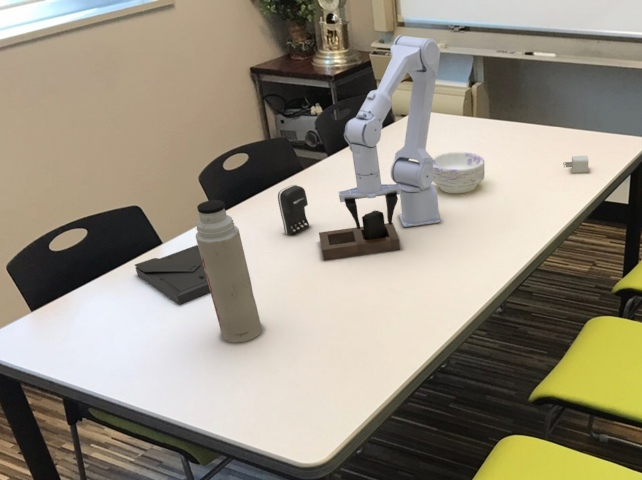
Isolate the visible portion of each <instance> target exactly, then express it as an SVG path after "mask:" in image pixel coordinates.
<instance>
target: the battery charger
mask: <svg viewBox="0 0 642 480" xmlns="http://www.w3.org/2000/svg"><path fill="white" fill-rule="evenodd" d="M277 201H278V206H279V211H280V216H281V220H282V224H283V230H284V233H285V234H286V235H292V236H293V235H294V236H295V235H298V234H300V233H302V232H304V231H305V230H307V229H308V228H309V227H310V223H309V221H308V219H307V216H306V210H305V208H306V207H307V206H308V198H307V193H306V190H305V189H304V188H303V186H300V185H297V184H291V185H289V186H286V187H285V188H282V189H280V190H279V192H278V194H277Z"/></svg>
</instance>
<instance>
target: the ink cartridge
mask: <svg viewBox="0 0 642 480" xmlns="http://www.w3.org/2000/svg"><path fill="white" fill-rule="evenodd" d="M361 221H362V227H363V229H364V236H365V240H371V239H379V238H386V232H385V223H386V222H385V215H384V212H382V211H380V210H373V211H370V212H368V213H365V214H364V215H363V216H361Z"/></svg>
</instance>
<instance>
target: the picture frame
mask: <svg viewBox="0 0 642 480" xmlns="http://www.w3.org/2000/svg"><path fill="white" fill-rule="evenodd" d="M134 266H135V272H136V275H137V277H139V278H141V279H142V280H143V281H145V282H146V283H148V284H149V285H151V286H152V287H154V288H155V289H157V290H158V291H159V292H161V293H162V294H163V295H165V296H166V297H168V298H169V299H171V300H172V301H173V302H175V303H176V304H178V305H183V304H185V303H189V302H190V301H193V300H195V299H197V298H200V297H203V296H205V295H207V294H209V293H210V294H211V292H210V289H209V285H208V281H207V277H206V274H205V270H204V266H203V263H202V259H201V255H200V251H199V248H198V244H196V245H193V246H190V247H188V248H185V249H182V250H179V251H177V252H174V253H171V254H169V255H165V256H162V257H161V258H159V257H154V258H151V259H147V260H144V261H141V262H138V263H135V264H134Z"/></svg>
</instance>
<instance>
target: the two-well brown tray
mask: <svg viewBox="0 0 642 480" xmlns="http://www.w3.org/2000/svg"><path fill="white" fill-rule="evenodd" d="M384 223H385V232H386V238H379V239H371V240H365V236H364V229H363V226H360V229H357V226H356V227H348V228H343V229H335V230H327V231H320V232H318V236H319V242H320V246H321V247H320V248H321V253H322V258H323V261H330V260H336V259H344V258H345V259H346V258H351V257H358V256H365V255H371V254H379V253H386V252H387V253H388V252H394V251H400V250H401V245H400V238H399V235H398V233H397V230H396V228H395V223H394V222H392V225H389V223H388V222H384Z"/></svg>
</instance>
